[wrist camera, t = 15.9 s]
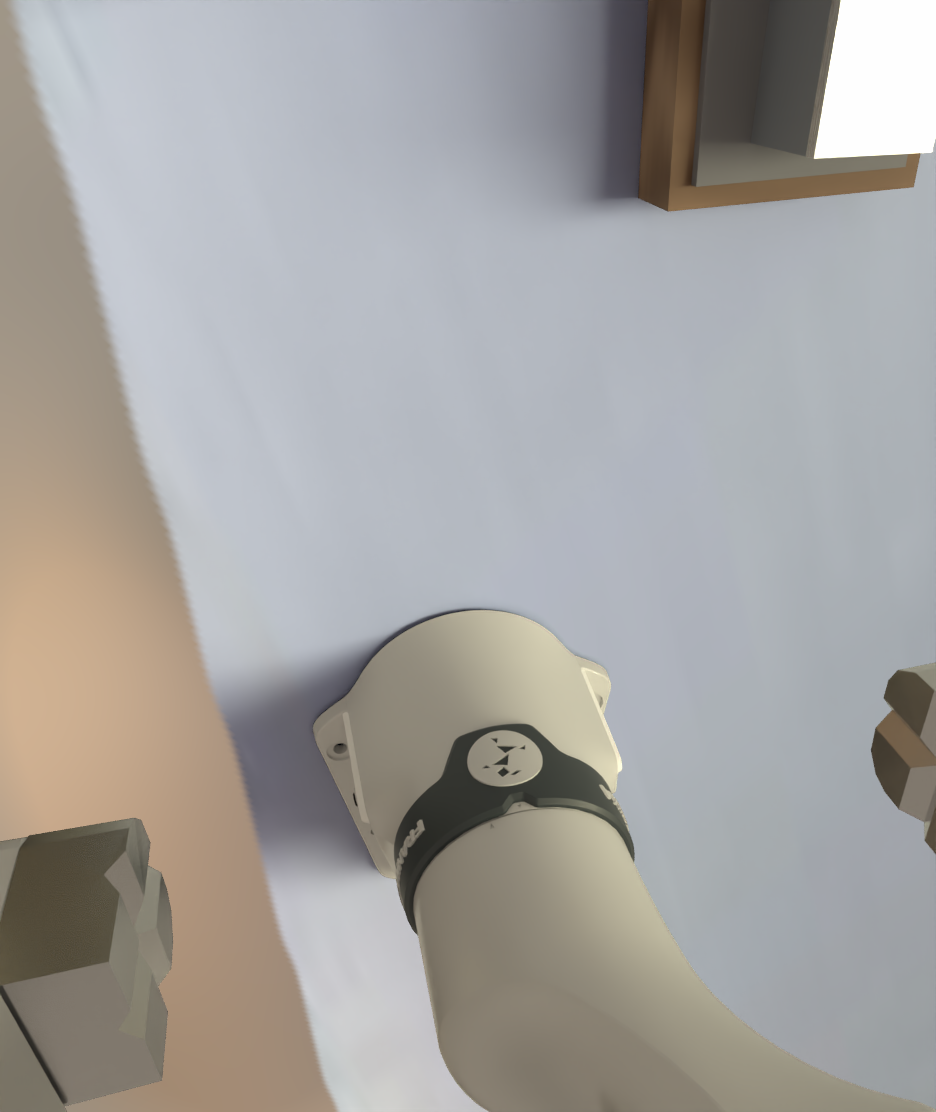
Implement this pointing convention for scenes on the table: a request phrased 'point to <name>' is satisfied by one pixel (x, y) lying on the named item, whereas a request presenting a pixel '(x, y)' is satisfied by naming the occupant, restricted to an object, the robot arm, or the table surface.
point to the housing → (848, 78)
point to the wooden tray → (728, 117)
